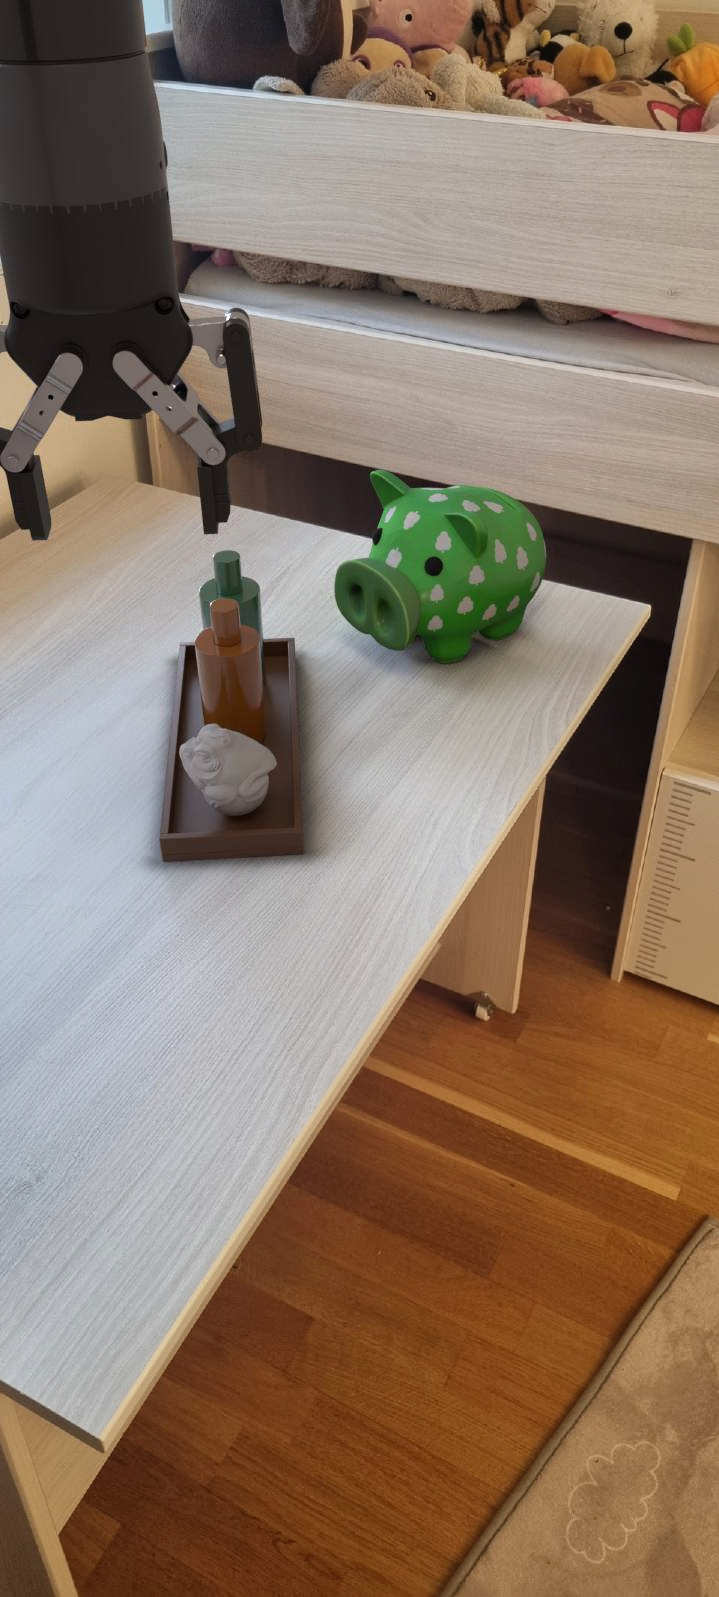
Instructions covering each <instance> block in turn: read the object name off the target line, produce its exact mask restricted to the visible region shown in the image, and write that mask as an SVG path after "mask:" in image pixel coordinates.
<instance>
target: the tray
mask: <svg viewBox="0 0 719 1597" xmlns="http://www.w3.org/2000/svg"><path fill="white" fill-rule="evenodd" d="M264 652H265V666H266V684H265V686H264V687H263V688H264V701H265V715H266V729H267V735H266V738H265V740H264V741H263V742H262V743H261V745H263V746H265V747H266V748H268V749H269V750H270V751H271V753H272V754H273V755H274V757H275V759H276V763H277V765H276V767H275V768H274V769H273V770H271V771H270V772H269V773H268V777H269V784H268V791H267V794H266V796H265V798H264V800H263V802H262V803H261V804H260V805H259V806H258V807H257V808H256V809H255V810H253V811H252V812H250V813H248V814H245V815H241V816H229V815H225V814H222V813H220V812H218V811H216V810H215V809H213V808H212V807H211V806H210V805H209V804H208V802H207V801H206V799H205V798H204V795H203V793H202V789H198V788H197V787H196V785H194V782H193V781H192V779H191V778H190V777H189V775H188V773H187V772H186V770H185V769H184V766H183V764H182V760H181V758H180V755H179V750H180V747H181V745H182V744H185V743H186V742H187V741H188V740H189V739H191V738H193V737H194V738H197V736H198V734H199V732H200V730H201V729H202V728H203V727H204V720H203V711H202V703H201V694H200V685H199V676H198V667H197V658H196V650H195V641H186V642H183V641H182V642H179V649H178V655H177V656H178V657H177V667H176V675H175V676H176V677H175V686H174V694H173V695H174V696H173V705H172V706H173V707H172V715H171V723H170V725H171V726H170V733H169V743H168V744H169V746H168V752H167V764H166V773H165V780H164V782H165V783H164V792H163V802H162V809H161V821H160V828H159V830H160V831H159V838H158V839H159V846H160V852H161V859H162V862H175V861H177V862H178V861H194V860H195V861H197V860H214V859H215V860H216V859H232V858H233V859H234V858H253V857H273V856H274V857H275V856H290V855H293V856H294V855H304V854H305V847H304V844H305V843H304V824H303V801H302V800H303V799H302V798H303V797H302V779H301V778H302V777H301V776H302V775H301V754H300V752H301V750H300V731H299V729H300V727H299V726H300V725H299V707H298V706H299V704H298V684H297V683H298V682H297V661H296V660H297V659H296V656H297V655H296V639H295V637H280V638H278V637H277V638H275V637H274V638H264Z"/></svg>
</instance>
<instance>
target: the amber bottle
mask: <svg viewBox="0 0 719 1597" xmlns="http://www.w3.org/2000/svg"><path fill="white" fill-rule="evenodd" d="M210 617H211V627H208V628H206V629H204V630H203V629H202V630H201V631H200V632H199V633H197V635H196V637H195V639H194V642H195V650H196V658H197V667H198V676H199V685H200V694H201V703H202V711H203V720H204V726H206V725H208V724H217V725H219V726H220V727H221V728H224V729H225V728H226V729H228V730H231V731H234V732H238V733H241V734H243V735H245V736H247V737H249V738H251V739H253V740H255V741H257V742H258V743H259V744H261V743H262V742H263V741H264V740H265V738H266V735H267V729H266V715H265V701H264V688H263V674H262V661H261V647H260V636H259V634H258V632H257V631H256V630H254V629H253V628H251V627H249V626H246V625H242V624H240V614H239V604H238V602H237V601H236V600H234V599H230V598H221V599H217V600H215V601H213V602H212V603H211V604H210Z"/></svg>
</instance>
